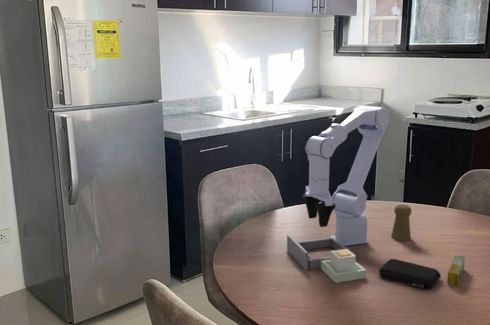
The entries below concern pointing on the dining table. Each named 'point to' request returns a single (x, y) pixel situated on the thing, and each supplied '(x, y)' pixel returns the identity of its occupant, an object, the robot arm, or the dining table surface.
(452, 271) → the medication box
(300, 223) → the dining table surface
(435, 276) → the carrying case or bag
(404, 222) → the cork
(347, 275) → the bay
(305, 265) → the case
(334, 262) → the block
